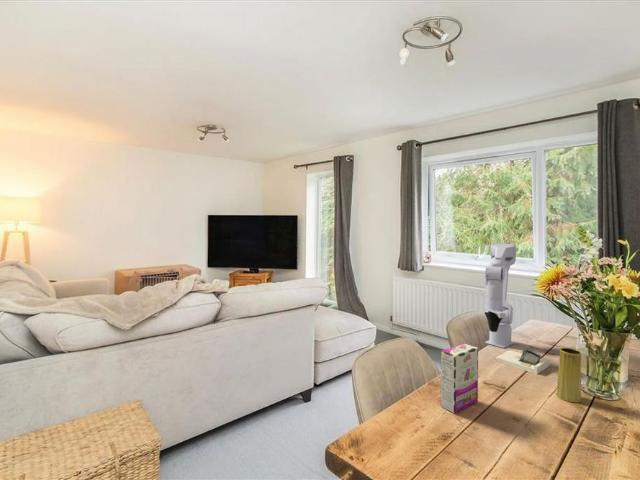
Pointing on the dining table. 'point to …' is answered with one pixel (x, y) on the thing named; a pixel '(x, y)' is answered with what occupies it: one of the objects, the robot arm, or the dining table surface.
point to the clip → (530, 357)
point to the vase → (569, 375)
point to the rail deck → (514, 361)
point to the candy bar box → (459, 377)
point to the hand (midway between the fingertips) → (493, 331)
